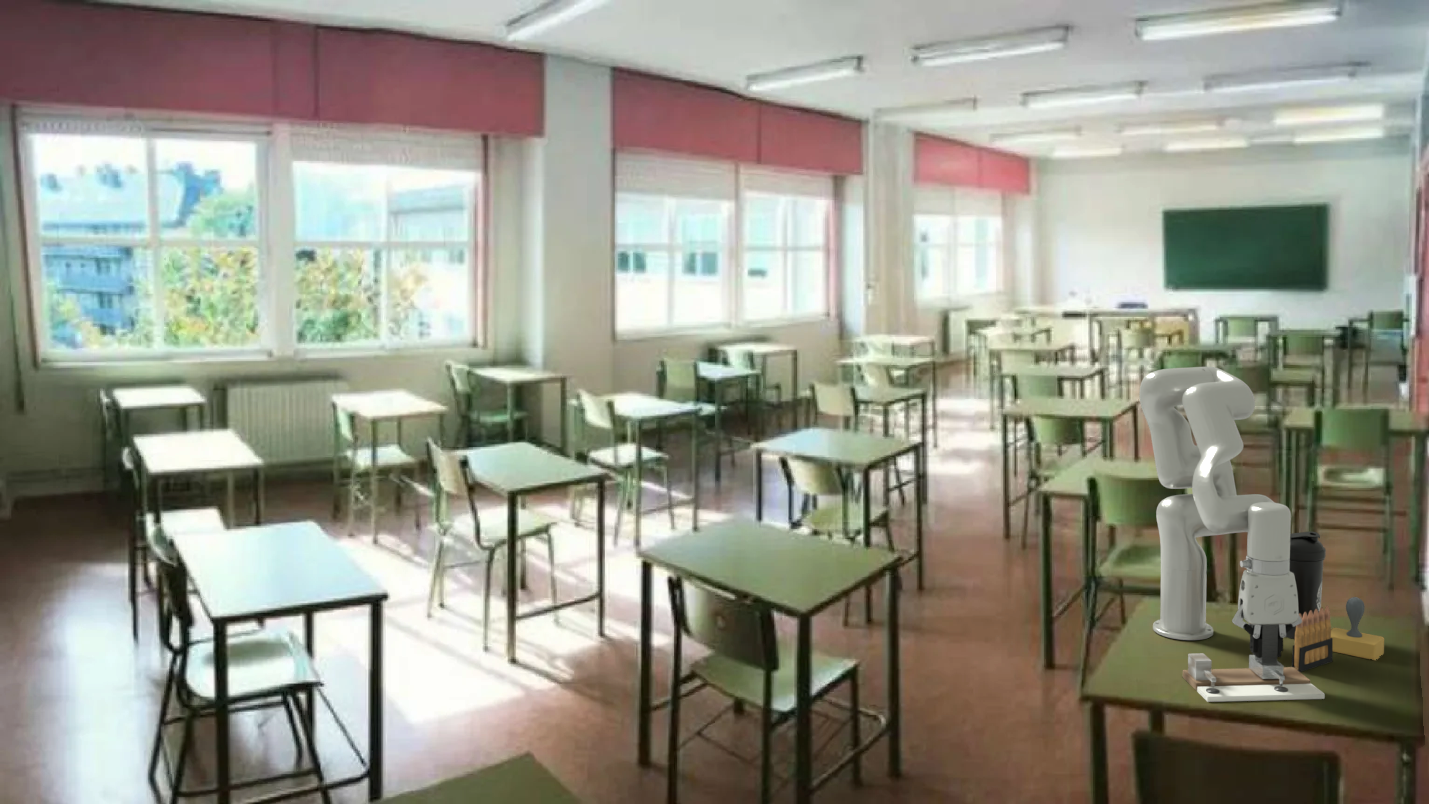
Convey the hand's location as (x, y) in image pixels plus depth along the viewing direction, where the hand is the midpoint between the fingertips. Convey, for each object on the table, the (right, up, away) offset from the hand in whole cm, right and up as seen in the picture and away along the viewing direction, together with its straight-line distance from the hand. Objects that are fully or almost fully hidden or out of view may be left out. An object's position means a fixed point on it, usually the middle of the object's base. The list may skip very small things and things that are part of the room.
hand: (1266, 654), depth 218 cm
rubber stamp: (+26, -3, +14) cm, 30 cm away
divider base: (-4, -6, -1) cm, 7 cm away
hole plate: (-4, -7, -6) cm, 10 cm away
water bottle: (+20, -2, +27) cm, 34 cm away
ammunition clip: (+14, -4, +8) cm, 16 cm away
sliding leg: (0, -4, -1) cm, 4 cm away
